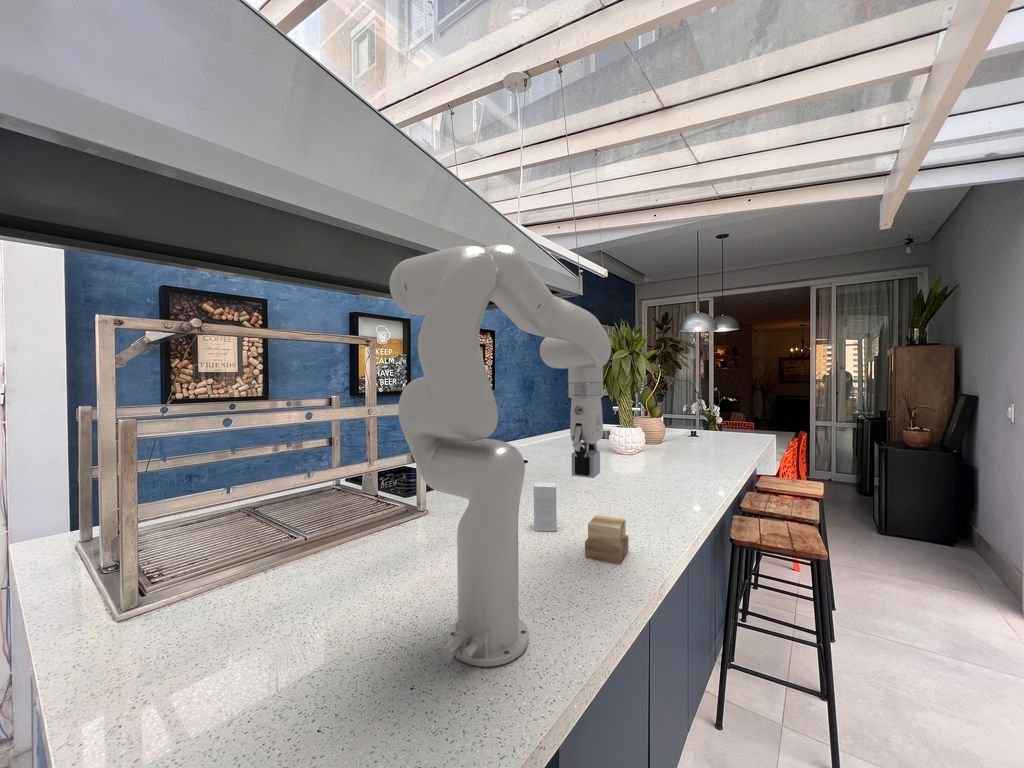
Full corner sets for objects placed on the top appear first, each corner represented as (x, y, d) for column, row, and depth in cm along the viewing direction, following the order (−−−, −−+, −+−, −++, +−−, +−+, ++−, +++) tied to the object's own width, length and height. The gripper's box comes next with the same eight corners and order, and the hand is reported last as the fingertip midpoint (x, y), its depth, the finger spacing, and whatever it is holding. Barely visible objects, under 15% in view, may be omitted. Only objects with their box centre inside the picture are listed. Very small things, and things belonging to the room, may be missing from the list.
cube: (593, 478, 91) (593, 455, 91) (571, 475, 93) (571, 453, 93) (600, 472, 95) (599, 450, 95) (578, 470, 98) (578, 449, 98)
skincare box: (556, 526, 116) (556, 482, 115) (556, 532, 111) (556, 486, 111) (534, 525, 116) (534, 482, 116) (533, 531, 112) (533, 486, 112)
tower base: (620, 566, 92) (620, 548, 92) (584, 558, 96) (584, 541, 96) (628, 552, 99) (628, 535, 99) (595, 546, 103) (595, 529, 103)
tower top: (619, 546, 93) (619, 528, 93) (588, 541, 96) (587, 523, 96) (625, 535, 99) (625, 518, 99) (596, 530, 102) (596, 514, 102)
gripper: (591, 393, 84) (591, 483, 85) (611, 388, 99) (612, 465, 100) (555, 392, 88) (556, 479, 89) (581, 388, 103) (581, 462, 104)
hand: (586, 471), depth 94 cm, fingers closed on cube, 5 cm apart
